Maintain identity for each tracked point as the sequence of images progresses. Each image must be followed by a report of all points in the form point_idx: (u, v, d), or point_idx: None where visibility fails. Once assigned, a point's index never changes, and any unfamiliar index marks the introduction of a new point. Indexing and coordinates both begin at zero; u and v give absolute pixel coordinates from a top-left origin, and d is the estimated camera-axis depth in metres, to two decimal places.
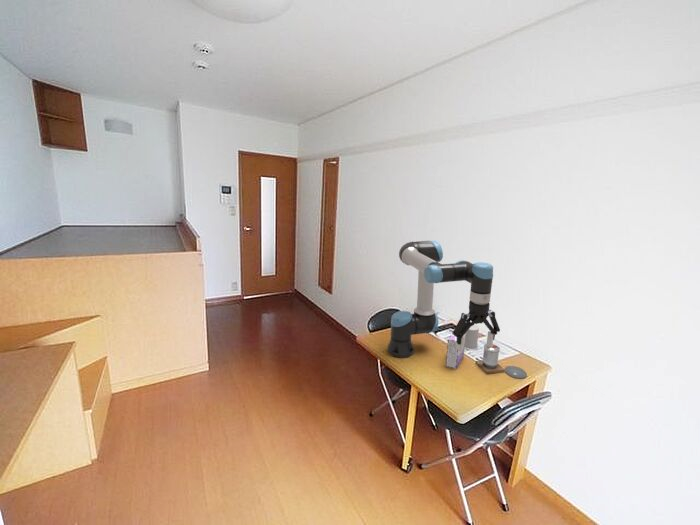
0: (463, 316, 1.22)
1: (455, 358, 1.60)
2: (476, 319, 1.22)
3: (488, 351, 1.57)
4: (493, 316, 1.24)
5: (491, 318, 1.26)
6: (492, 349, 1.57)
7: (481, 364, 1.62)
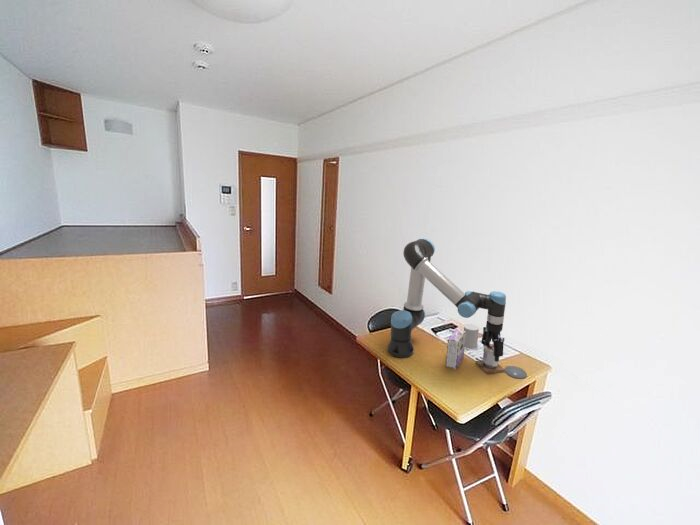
0: None
1: (455, 358, 1.60)
2: (487, 333, 1.58)
3: (488, 351, 1.57)
4: (498, 341, 1.52)
5: None
6: (492, 349, 1.57)
7: (481, 364, 1.62)
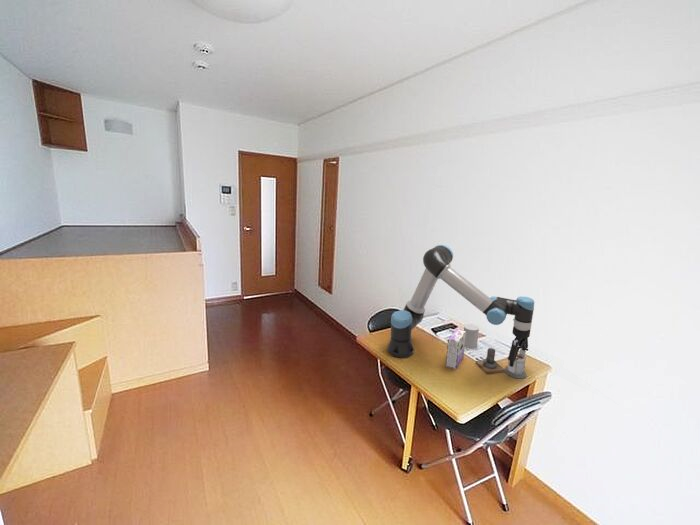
0: None
1: (455, 358, 1.60)
2: None
3: None
4: None
5: None
6: None
7: (481, 364, 1.62)
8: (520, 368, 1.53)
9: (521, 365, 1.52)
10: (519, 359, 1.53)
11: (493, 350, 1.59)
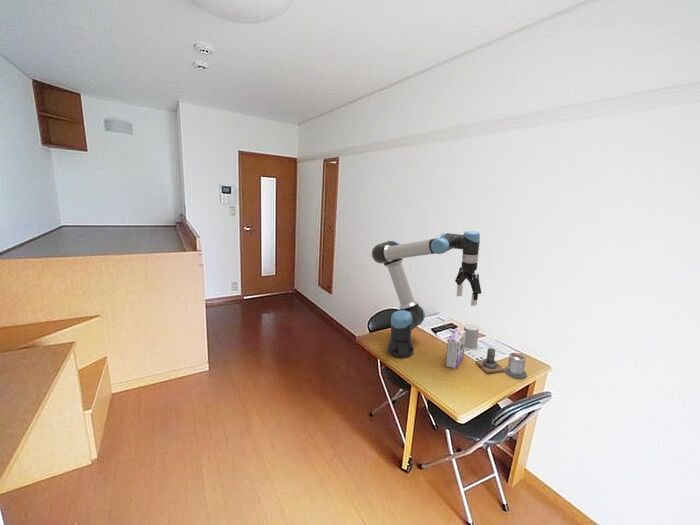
0: None
1: (455, 358, 1.60)
2: (463, 273, 1.60)
3: (509, 357, 1.56)
4: (473, 277, 1.52)
5: None
6: (513, 357, 1.55)
7: (481, 364, 1.62)
8: (520, 368, 1.53)
9: (521, 365, 1.52)
10: (519, 359, 1.53)
11: (493, 350, 1.59)
